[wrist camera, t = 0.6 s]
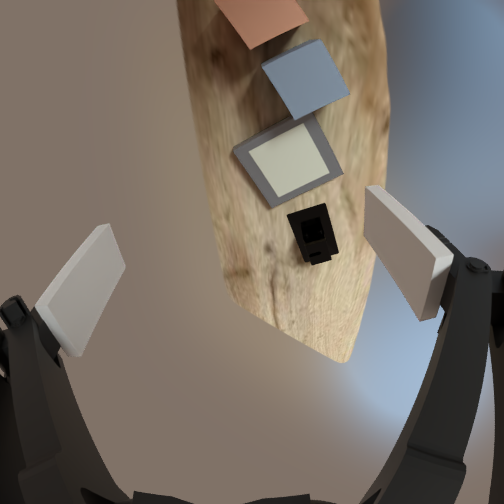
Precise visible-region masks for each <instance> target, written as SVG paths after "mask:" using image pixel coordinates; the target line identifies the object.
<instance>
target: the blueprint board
mask: <svg viewBox="0 0 504 504" xmlns="http://www.w3.org/2000/svg"><path fill="white" fill-rule="evenodd" d="M233 152H234V154H235V155H236V156H237V158H238V159H239V161H240V162H241V164H242V165H243V166H244V168H245V169H246V171H247V172H248V174H249V175H250V177H251V178H252V179H253V181H254V182H255V184H256V185H257V187H258V188H259V190H260V191H261V193H262V194H263V196H264V197H265V198H266V200H267V201H268V203H269V204H270V206H271V207H272V208H273V207H275V206H277V205H279V204H281V203H283V202H285V201H288V200H290V199H292V198H294V197H296V196H298V195H300V194H302V193H304V192H306V191H308V190H310V189H313V188H315V187H317V186H319V185H321V184H323V183H325V182H327V181H329V180H332V179H334V178H336V177H338V176H340V175H342V174H344V173H343V171H342V169H341V167H340V165H339V163H338V161H337V159H336V157H335V155H334V153H333V151H332V149H331V147H330V145H329V143H328V141H327V139H326V137H325V135H324V133H323V131H322V129H321V127H320V125H319V124H318V122H317V120H316V118H315V116H314V114H313V113H312V112H311V113H309V114H306V115H304V116H302V117H300V118H298V119H296V120H294V118H293V116H290V117H288V118H286V119H284V120H282V121H280V122H278V123H276V124H274V125H272V126H271V127H269V128H267V129H265V130H263V131H261V132H259V133H258V134H256V135H254V136H252V137H250V138H249V139H247V140H245V141H243V142H241V143H240V144H238V145H236V146H234V148H233Z"/></svg>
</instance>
